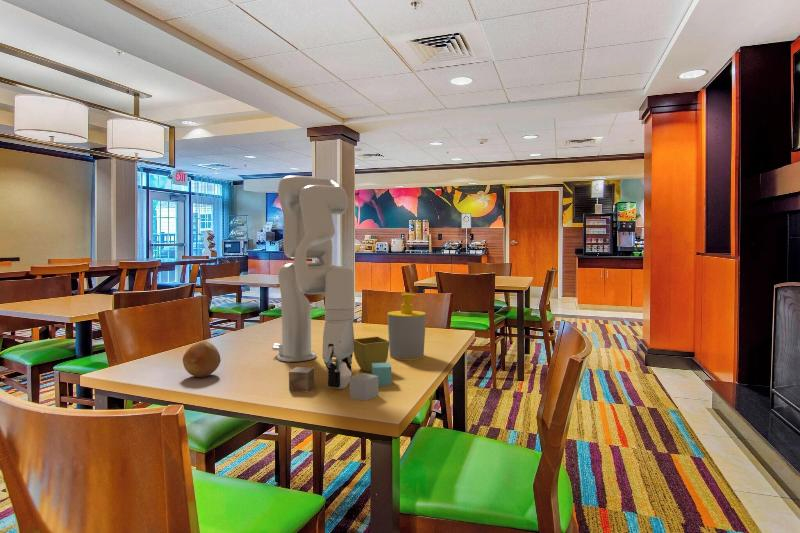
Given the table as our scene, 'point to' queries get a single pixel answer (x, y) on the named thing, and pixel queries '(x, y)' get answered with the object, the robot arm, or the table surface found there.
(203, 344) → the onion
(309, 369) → the walnut cube
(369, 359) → the flower pot
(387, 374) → the teal cube
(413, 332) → the soap bottle
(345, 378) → the muffin
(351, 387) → the grey cube
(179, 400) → the table surface
